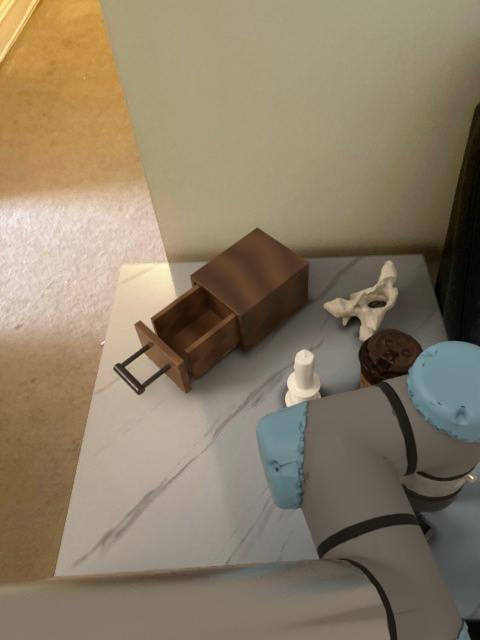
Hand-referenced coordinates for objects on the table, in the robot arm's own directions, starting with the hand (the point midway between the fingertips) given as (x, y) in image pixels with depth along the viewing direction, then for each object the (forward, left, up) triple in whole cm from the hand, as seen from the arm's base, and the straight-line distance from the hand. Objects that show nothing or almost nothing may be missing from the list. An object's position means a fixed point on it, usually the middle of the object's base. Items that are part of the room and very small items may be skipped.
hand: (396, 529), depth 70 cm
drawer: (-2, +39, 0) cm, 39 cm away
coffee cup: (+14, +13, -1) cm, 19 cm away
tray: (0, 0, -1) cm, 1 cm away
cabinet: (+13, +39, -1) cm, 41 cm away
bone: (+24, +25, -1) cm, 35 cm away
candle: (+6, +21, -1) cm, 22 cm away
